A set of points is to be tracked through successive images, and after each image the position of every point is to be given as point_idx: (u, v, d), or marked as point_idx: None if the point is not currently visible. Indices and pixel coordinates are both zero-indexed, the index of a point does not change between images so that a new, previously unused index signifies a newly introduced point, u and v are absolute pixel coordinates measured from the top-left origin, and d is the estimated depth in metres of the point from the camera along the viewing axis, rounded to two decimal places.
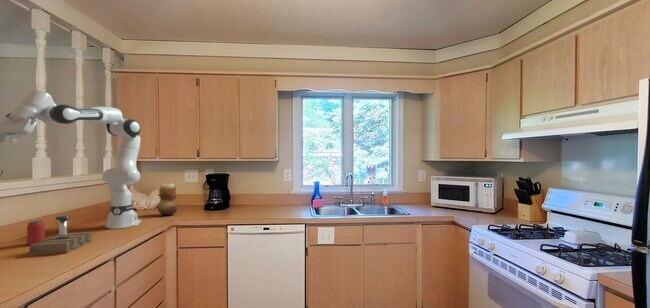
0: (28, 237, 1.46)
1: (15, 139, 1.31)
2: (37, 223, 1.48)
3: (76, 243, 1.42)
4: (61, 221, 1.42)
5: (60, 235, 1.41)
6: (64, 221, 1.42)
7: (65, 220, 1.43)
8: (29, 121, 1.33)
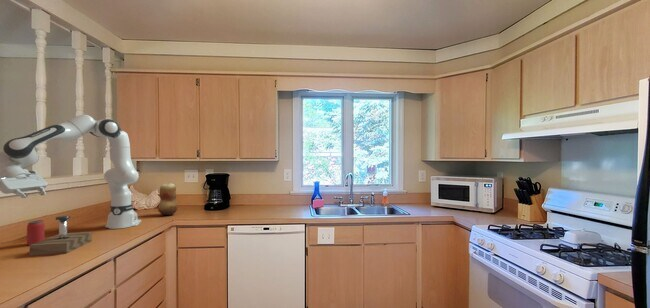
0: (28, 237, 1.46)
1: (22, 195, 1.36)
2: (37, 223, 1.48)
3: (76, 243, 1.42)
4: (61, 221, 1.42)
5: (60, 235, 1.41)
6: (64, 221, 1.42)
7: (65, 220, 1.43)
8: None
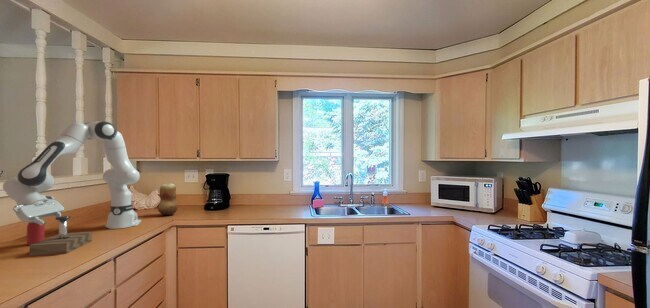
0: (28, 237, 1.46)
1: (40, 222, 1.37)
2: (37, 223, 1.48)
3: (76, 243, 1.42)
4: (61, 221, 1.42)
5: (60, 235, 1.41)
6: (64, 221, 1.42)
7: (65, 220, 1.43)
8: (16, 213, 1.33)
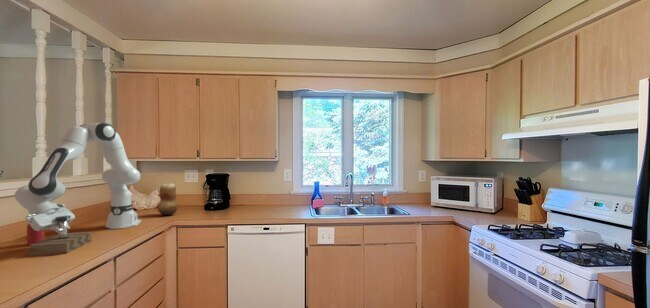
0: (28, 237, 1.46)
1: (57, 230, 1.40)
2: None
3: (76, 243, 1.42)
4: (61, 221, 1.42)
5: (60, 235, 1.41)
6: (64, 221, 1.42)
7: (65, 220, 1.43)
8: (29, 223, 1.33)
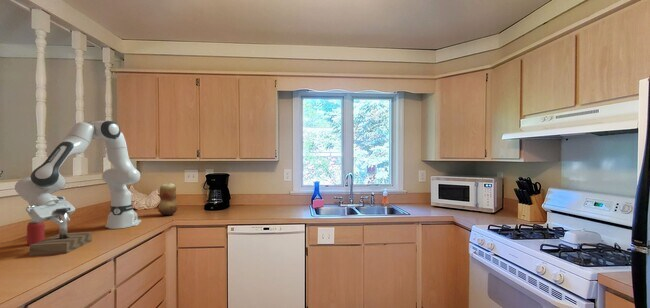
0: (28, 237, 1.46)
1: (58, 221, 1.40)
2: (37, 223, 1.48)
3: (76, 243, 1.42)
4: (61, 213, 1.42)
5: (60, 227, 1.42)
6: (64, 213, 1.42)
7: (65, 212, 1.43)
8: (29, 214, 1.33)
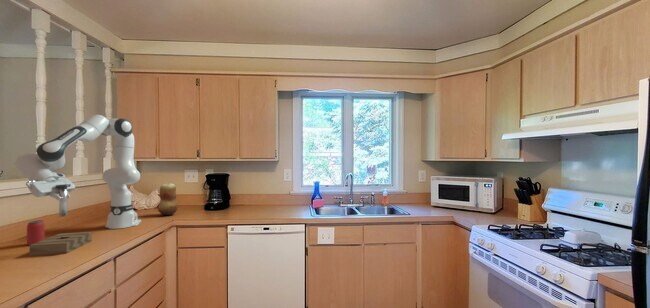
0: (28, 237, 1.46)
1: (58, 197, 1.40)
2: (37, 223, 1.48)
3: (76, 243, 1.42)
4: (61, 189, 1.42)
5: (60, 203, 1.42)
6: (64, 189, 1.42)
7: (65, 188, 1.43)
8: (29, 188, 1.33)
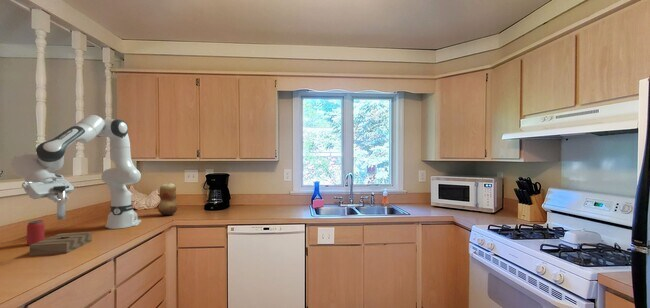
0: (28, 237, 1.46)
1: (55, 199, 1.33)
2: (37, 223, 1.48)
3: (76, 243, 1.42)
4: (59, 190, 1.35)
5: (58, 205, 1.35)
6: (62, 191, 1.35)
7: (63, 190, 1.36)
8: (25, 190, 1.26)
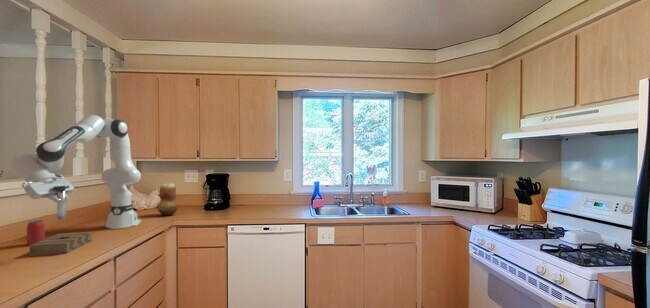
0: (28, 237, 1.46)
1: (55, 199, 1.33)
2: (37, 223, 1.48)
3: (76, 243, 1.42)
4: (59, 190, 1.35)
5: (58, 205, 1.35)
6: (62, 191, 1.35)
7: (63, 190, 1.36)
8: (25, 190, 1.26)
